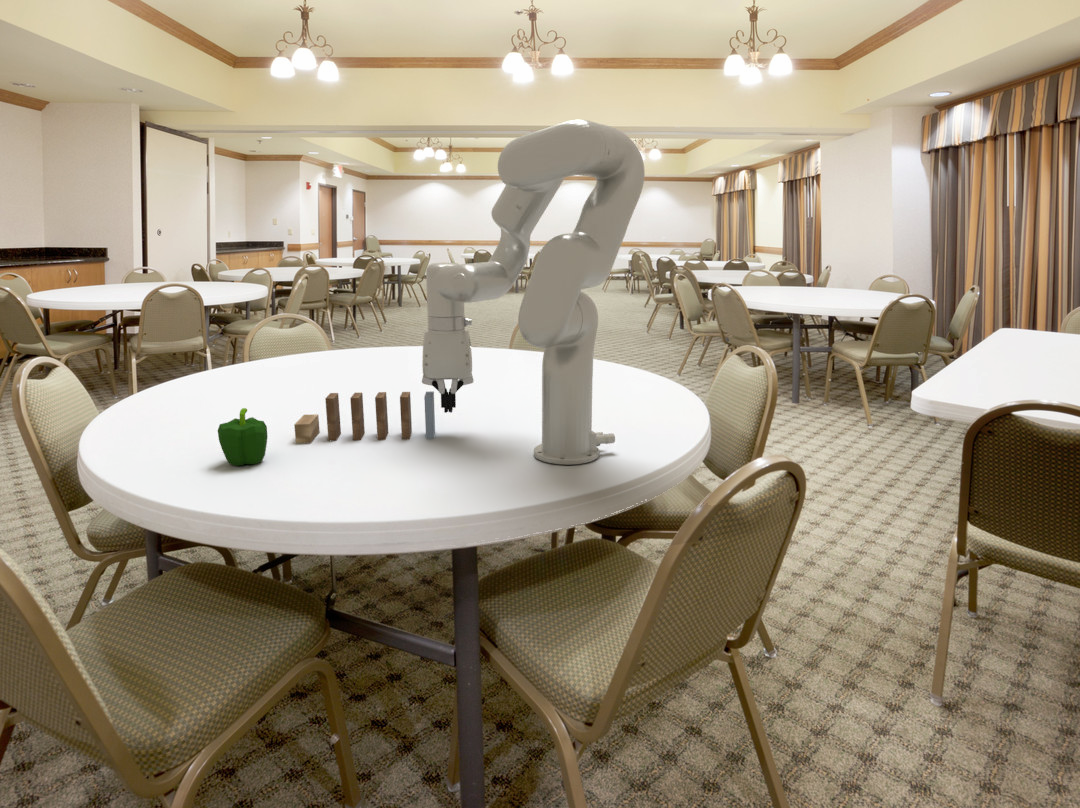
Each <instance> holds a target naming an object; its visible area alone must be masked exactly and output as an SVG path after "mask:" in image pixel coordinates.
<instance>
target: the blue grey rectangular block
mask: <svg viewBox="0 0 1080 808" xmlns="http://www.w3.org/2000/svg"><path fill="white" fill-rule="evenodd" d="M434 394H435V391H425V394H424V398H423V399H424V422H425V439H427V440H428V439H429V440H431V439H435V434H436V418H435V417H436V416H435V415H436V414H435V395H434Z"/></svg>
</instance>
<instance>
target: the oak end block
mask: <svg viewBox="0 0 1080 808" xmlns="http://www.w3.org/2000/svg"><path fill="white" fill-rule="evenodd" d="M319 420H320V419H319V413H318V414H317V413H316V414H303V415H302V416H301V417H300V418H299V419H298V420H297V421H296V422H295V424H294V433H295V434H294V436H295V444H312V443H313V441H314V440H315V439H316V438H317V436H318V435H319V434H320V432H321V431H320V430H321V429H320V421H319ZM315 437H316V438H315Z"/></svg>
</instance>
